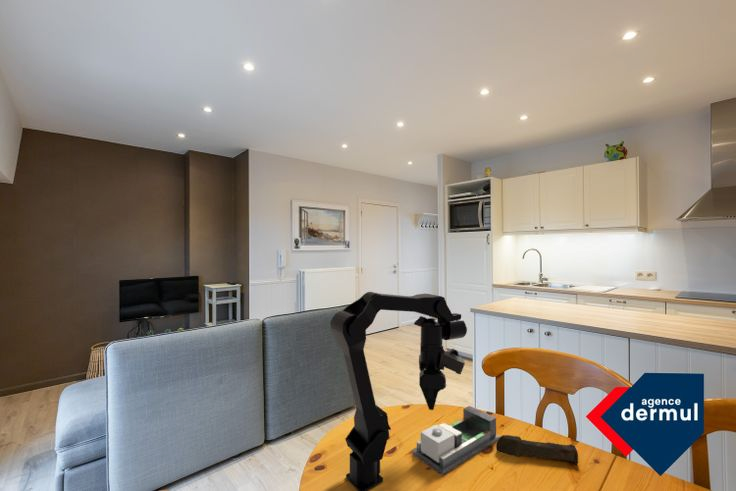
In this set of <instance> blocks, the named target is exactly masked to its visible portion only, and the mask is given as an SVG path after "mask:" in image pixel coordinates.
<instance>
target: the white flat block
mask: <svg viewBox="0 0 736 491" xmlns="http://www.w3.org/2000/svg"><path fill="white" fill-rule="evenodd" d="M449 425H450V424H447V423H445V422H442V423H441V424H439V425H438V426H440V427H442V428H443V429H445V430H447V431H449V432H451V433H452V434H454V448H456V447H458V446H459V445H461V444H462V432H460V431H458V430H456V429H454V428H452V427H451V426H449Z"/></svg>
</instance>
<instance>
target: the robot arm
mask: <svg viewBox="0 0 736 491" xmlns="http://www.w3.org/2000/svg"><path fill="white" fill-rule="evenodd" d="M447 304H448V303H447V301H446V298H445V297H444V296H442V295H437V294H431V293H418V294H415V295H407V296H406V295H398V294H389V293H388V294H387V293H377V292H373V291H367V292H365V293H363V295H362V296H360V298H358V299H357V300H355V301H353V302H351V303H350V304H348V305H346V307H344V309H343V310H341V311H338V312H336V313H335V314H334V315H333V317H332V318H331V320H330V330H331V332H332V334H333V336H334V339H335V341H336V342H337V343H338V345H339V347H340V349H341V350H342V352H343V356H344V360H345V366H346V369H347V374H348V378H349V382H350V386H351V391H352V394H353V399H354V404H355V412H354V416H353V422H354V423H353V425H354V426H353V427H352V429H350V432H348V434H347V436H346V437H345V439H344V440H345V442H346V445H347V447H348V448H349V449H350V450H351V452H350V453H349V473H346V474H345V478H346V479H347V480H348V481H349V483H350V484H352V485H353V487H354V488H355V489H357V491H369V490H370V489H372V488H373V487H375V486H378V485H380V484H381V483H383V482H384V477H383V476H382V475H380V473H381V460H383V457H384V454H385V450H386V447H387V442H388V440H389V439H390V430H392V428H391V427H390V424H389V417H388V413H387V412H386V411H385V410H384V409H382V408H381V407H380V406H378V405H377V404H376V400H375V395H374V391H373V387H372V383H371V382H372V381H371V377H370V373H369V368H368V363H367V361H366V355H365V350H364V348H365V346H366V341H367V332H366V331H367V329H369V327H370V326H371V325H372V324H373V323H374V320H375V318H376V317H377V314H378V313H379V312H381V310H382V311H396V312H413V313H416V314H417V313H418V314H420V316H419V318H417V320H415V322H413V325H415V326H418V327H420V344H419V345H420V347H419V348H420V349H419V351H420V352H419V353H420V354H419V355H418V365H419V367H418V368H419V369H418V370H419V371H420V372H419V374H418V375H419V379H418V380H419V382H418V383H419V384H418V385H419V388H420V390H421V392H422V394H423V397H424V399H425V402H426V406H427V408H428V410H429V411H434V410H435V406H436V402H437V398H438V394H439V392H440V391H442V390H444V389H446V388H447V378H446V375H445V374H444V372H443V371H444V370H445V368H446V369H448V370H450V371H452V372H454V373H455V374H457V375H462V372H463V369H464V367H465V365H466V362H465V360H464V358H463V357H462V356H459V351H458V350H457V349H455V348H451V349H450V350H449V351H448V350H445V349H444V345H443V340H444V341H449V340H450V341H451V340H457V339H462V338H464V337H465V336H466V335H467V332H468V327H467V324H466V322H465V321H464V320H463V318H462V314H461V313H454V312H453V313H452V311H451V309H450V308H449V306H448V305H447ZM421 315H424V316H421ZM425 316H428V317H429V318H427V317H425Z"/></svg>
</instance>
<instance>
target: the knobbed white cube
mask: <svg viewBox="0 0 736 491" xmlns="http://www.w3.org/2000/svg"><path fill="white" fill-rule="evenodd" d="M420 440H421V451H422V452H423V453H425V454H426V455H428V456H429V457H431V458H432V459H434V460H435V461H436V462H438V463H439V462H440V456H442V455H444V454H445V453H447V452H449V451H451V450H452V449H454V434H452V433H451V432H449V431H447V430H445V429H443V428H442V427H440V426H439V425H438V424H434V425H432V426H430V427H428V428H427V429H424V430H422V431H420Z"/></svg>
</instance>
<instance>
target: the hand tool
mask: <svg viewBox="0 0 736 491" xmlns="http://www.w3.org/2000/svg"><path fill="white" fill-rule="evenodd" d="M495 443H496V445H495V451H497V452H499V453H500V454H505V455H508V456H514V457H517V458H520V457H522V456H528V457H529V456H530V457H536V458H544V459H549V460H550V459H551V460H557V461H558V460H559V461H562V462H572V463H573V464H574V465H576V464H577V465H578V463H579V453H578V450H577V448H576V446H575V444H572V443H570V444H560V443H553V442H543V441H541V442H540V441H533V440H526V439H522V438H521V436H518V435H510V434H503V435H501V436H499V439H498V441H496V442H495Z"/></svg>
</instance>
